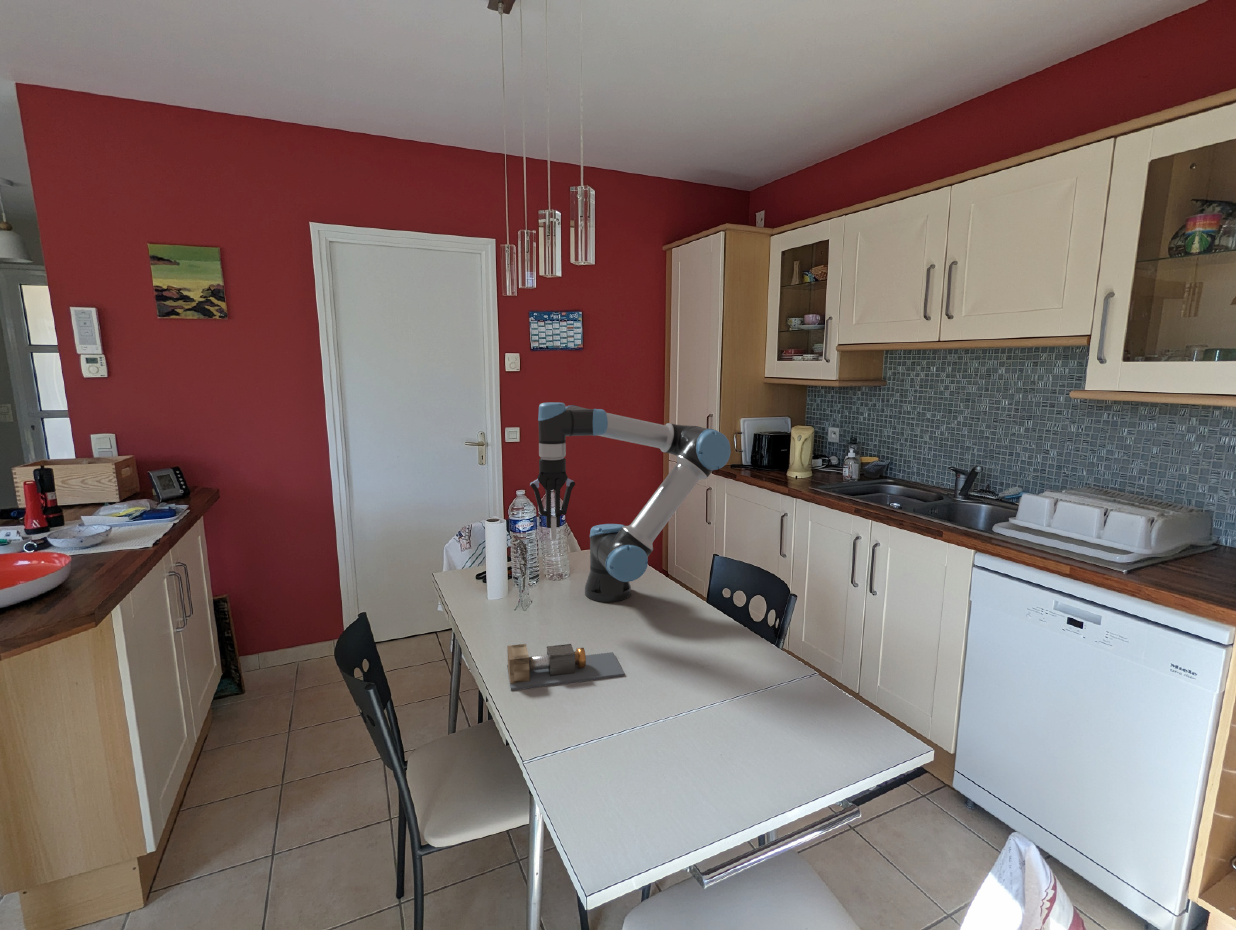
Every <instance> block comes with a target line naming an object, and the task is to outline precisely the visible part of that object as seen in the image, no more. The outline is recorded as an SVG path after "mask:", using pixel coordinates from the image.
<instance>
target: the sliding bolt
mask: <svg viewBox="0 0 1236 930" xmlns="http://www.w3.org/2000/svg"><path fill="white" fill-rule="evenodd" d="M574 653H575V665H577V666H578V668H582V667H585V666H586V655H587V654H586V651H585V647H576V649H575V650H574ZM549 668H550V657H549V655H547V654H544V655H543V654H541V655H533V656H529V671H533V670H541V669H549Z"/></svg>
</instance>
